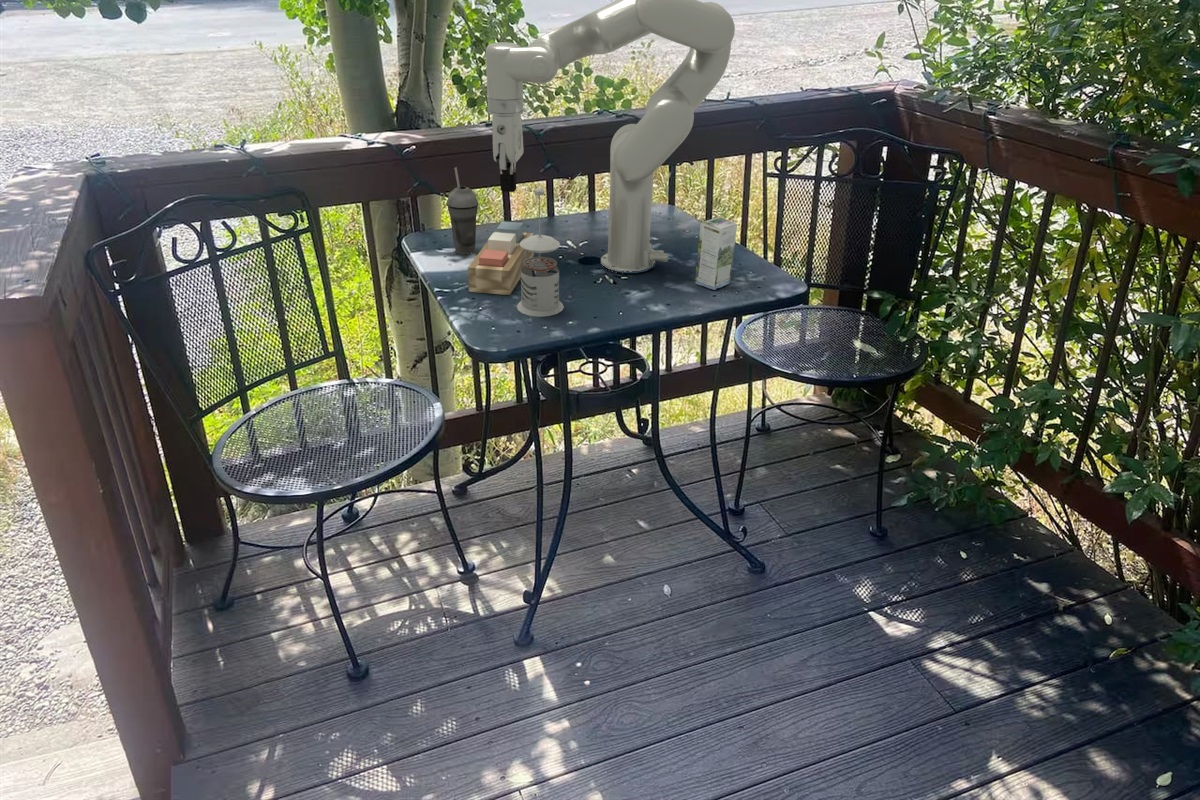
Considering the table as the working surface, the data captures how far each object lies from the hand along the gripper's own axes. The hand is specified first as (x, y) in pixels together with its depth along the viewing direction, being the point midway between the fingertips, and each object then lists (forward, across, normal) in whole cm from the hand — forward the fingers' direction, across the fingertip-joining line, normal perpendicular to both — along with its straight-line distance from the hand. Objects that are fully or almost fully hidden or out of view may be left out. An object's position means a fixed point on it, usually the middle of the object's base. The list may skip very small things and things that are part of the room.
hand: (508, 190), depth 197 cm
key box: (+17, -7, 0) cm, 18 cm away
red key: (+14, -14, +1) cm, 20 cm away
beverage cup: (+17, +5, +12) cm, 21 cm away
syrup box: (+18, -5, -47) cm, 50 cm away
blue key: (+12, +1, 0) cm, 12 cm away
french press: (+17, -23, -11) cm, 30 cm away
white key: (+12, -7, 0) cm, 14 cm away
